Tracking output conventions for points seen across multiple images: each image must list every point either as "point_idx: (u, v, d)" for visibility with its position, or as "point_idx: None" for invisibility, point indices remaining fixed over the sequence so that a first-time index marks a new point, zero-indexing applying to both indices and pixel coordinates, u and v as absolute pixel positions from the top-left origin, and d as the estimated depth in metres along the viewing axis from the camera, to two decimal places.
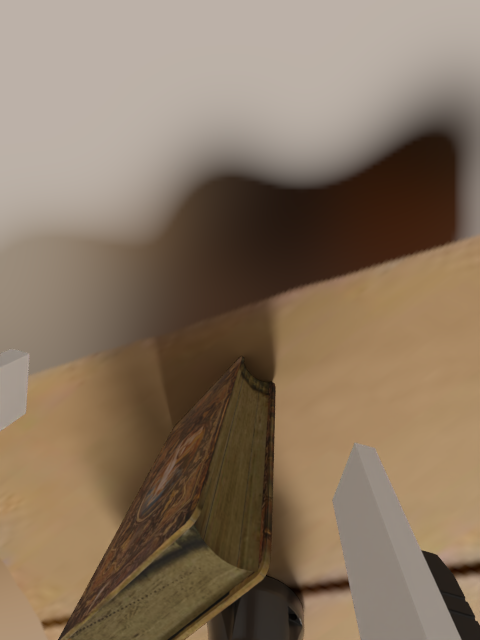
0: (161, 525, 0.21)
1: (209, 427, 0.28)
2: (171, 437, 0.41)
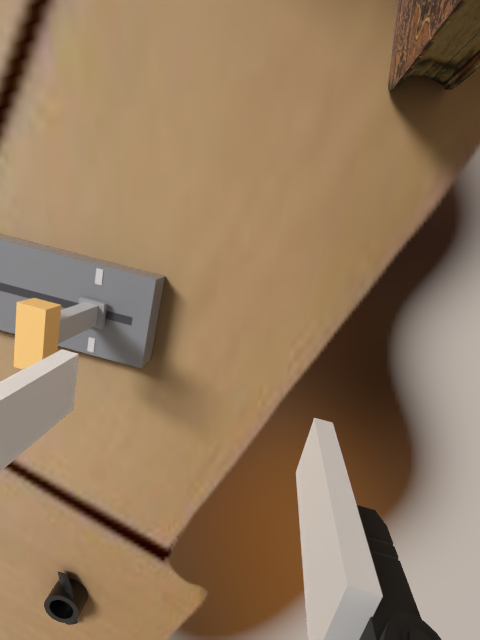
0: None
1: None
2: None
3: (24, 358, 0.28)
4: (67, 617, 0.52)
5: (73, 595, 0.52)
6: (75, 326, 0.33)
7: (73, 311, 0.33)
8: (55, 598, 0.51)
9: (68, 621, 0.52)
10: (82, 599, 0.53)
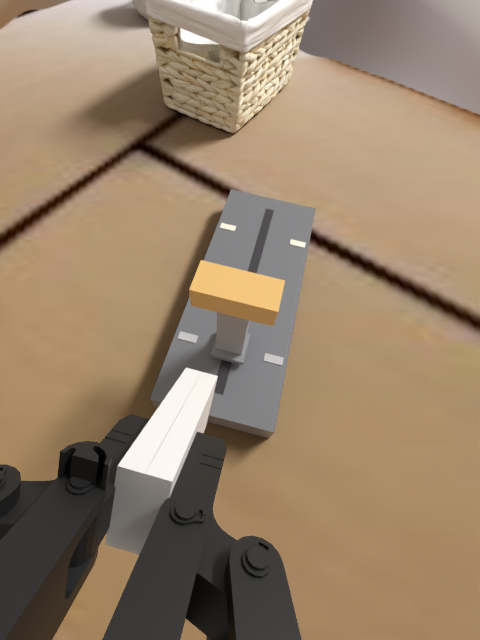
0: None
1: None
2: None
3: (212, 274, 0.22)
4: None
5: None
6: (229, 331, 0.26)
7: None
8: None
9: None
10: None
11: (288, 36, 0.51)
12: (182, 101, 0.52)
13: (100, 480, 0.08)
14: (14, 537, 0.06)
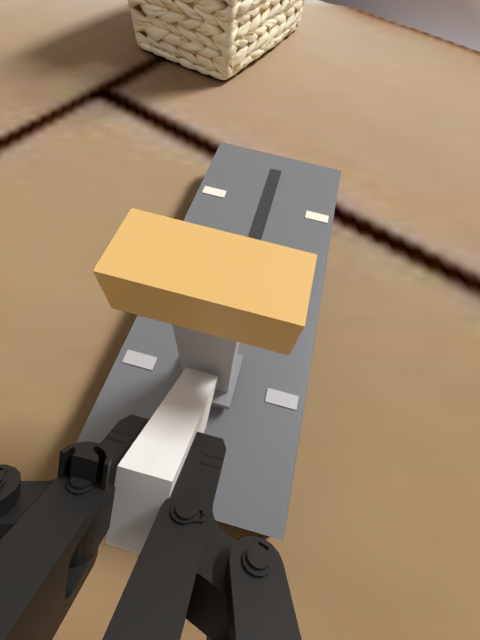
0: None
1: None
2: None
3: (152, 238, 0.10)
4: None
5: None
6: (201, 357, 0.14)
7: (235, 354, 0.14)
8: None
9: None
10: None
11: None
12: (158, 37, 0.40)
13: (100, 480, 0.08)
14: (14, 537, 0.06)
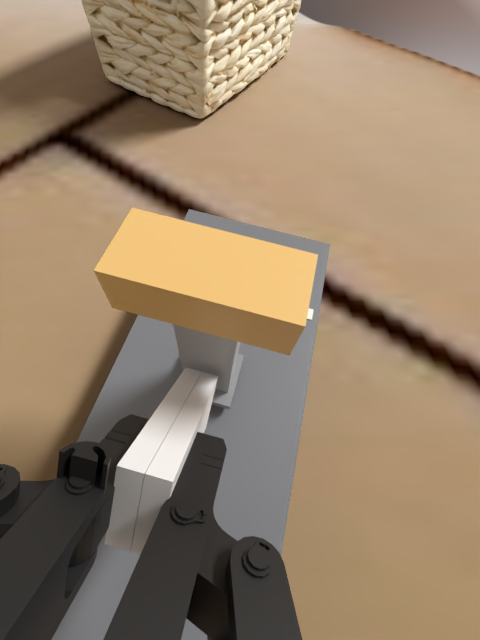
0: None
1: None
2: None
3: (153, 237, 0.10)
4: None
5: None
6: (201, 356, 0.14)
7: (236, 354, 0.14)
8: None
9: None
10: None
11: None
12: (126, 71, 0.35)
13: (99, 480, 0.08)
14: (13, 537, 0.06)
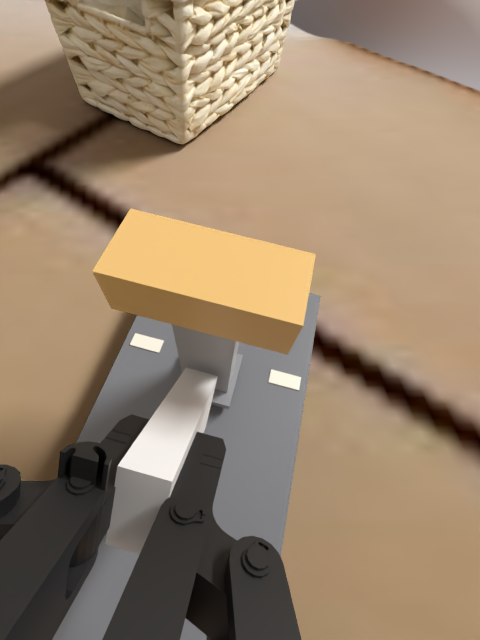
0: None
1: None
2: None
3: (151, 238, 0.10)
4: None
5: None
6: (200, 356, 0.14)
7: (234, 354, 0.14)
8: None
9: None
10: None
11: None
12: (103, 93, 0.33)
13: (100, 480, 0.08)
14: (14, 537, 0.06)
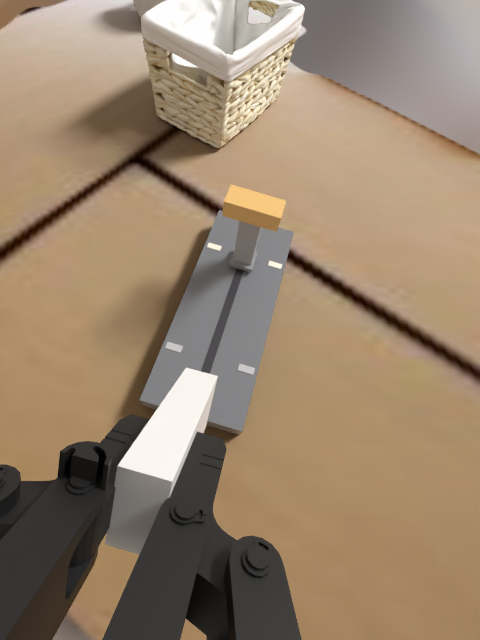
0: None
1: None
2: None
3: (238, 193, 0.34)
4: None
5: None
6: (244, 241, 0.38)
7: None
8: None
9: None
10: None
11: (275, 61, 0.55)
12: (172, 114, 0.55)
13: (100, 480, 0.08)
14: (14, 537, 0.06)
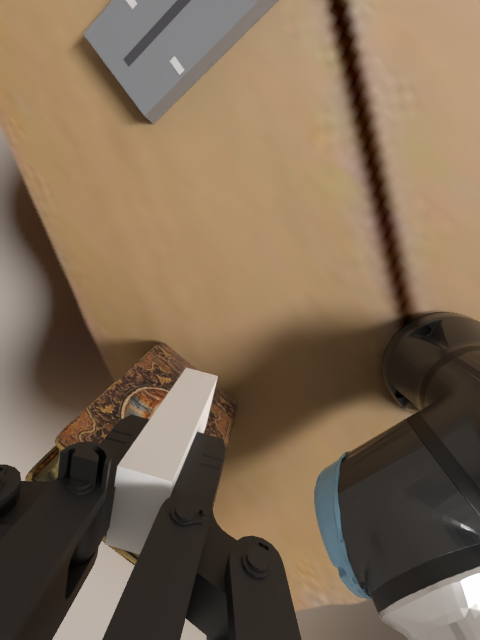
0: None
1: None
2: None
3: None
4: None
5: None
6: None
7: None
8: None
9: None
10: None
11: None
12: None
13: (100, 480, 0.08)
14: (14, 537, 0.06)
